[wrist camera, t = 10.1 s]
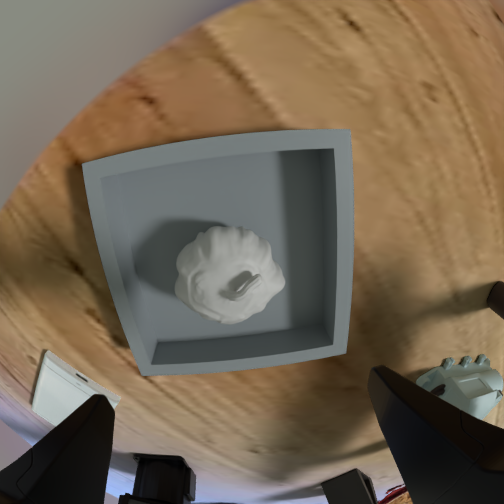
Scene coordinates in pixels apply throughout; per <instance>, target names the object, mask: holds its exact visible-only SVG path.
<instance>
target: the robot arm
mask: <svg viewBox="0 0 504 504" xmlns="http://www.w3.org/2000/svg"><path fill="white" fill-rule="evenodd" d="M367 386H368V392H369V395H370V398H371V401H372V404H373V407H374V410H375V413H376V417H377V420H378V423H379V426H380V428H381V430H382V433H383V435H384V437H385V439H386V442H387V444H388V446H389V448H390V451H391V453H392V455H393V457H394V460H395V462H396V464H397V467H398V469H399V471H400V474H401V476H402V478H403V481H404V483H405V486H406V488H407V490H408V493H409V495H410V498H411V500H412V503H413V504H504V429H502V428H500V427H497V426H494V425H492V424H489V423H487V422H485V421H482V420H480V419H478V418H476V417H474V416H472V415H470V414H468V413H467V412H465V411H463V410H460V409H459V408H457V407H456V406H454V405H452V404H450V403H448V402H447V401H445V400H443V399H441V398H439V397H438V396H436V395H434V394H432V393H431V392H429V391H427V390H425V389H424V388H422V387H420V386H419V385H417V384H415V383H413V382H412V381H410V380H408V379H406V378H405V377H403V376H401V375H400V374H398V373H396V372H395V371H393V370H391V369H389V368H388V367H386V366H384V365H379V366H376V367H373V368H372V369H371V371H370V375H369V380H368V385H367ZM114 420H115V411H114V409H113V407H112V405H111V404H110V402H109V400H108V399H107V397H106V396H105V395H103V394H93V395H92V396H91V397H90V398H89V399H87V400H86V401H85V402H84V403H83V404H82V405H80V406H79V407H78V408H77V409H76V410H75V411H73V412H72V413H71V414H70V415H69V416H68V417H67V418H65V419H64V420H63V421H62V422H61V423H60V424H58V425H57V426H56V427H55V428H54V429H53V430H51V431H50V432H49V433H48V434H47V435H46V436H44V437H43V438H42V439H41V440H40V441H39V442H37V443H36V444H35V445H34V446H33V447H32V448H30V449H29V450H28V451H27V452H26V453H25V454H23V455H22V456H21V457H20V458H18V459H17V460H16V461H15V462H13V463H12V464H10V465H9V466H7V467H6V468H4V469H3V470H1V471H0V504H104V498H105V490H106V483H107V477H108V471H109V465H110V459H111V453H112V445H113V431H114ZM133 459H134V460H135V461H136V462H137V463H138V466H137V471H136V477H135V482H134V488H133V493H132V495H130V494H129V493H125V495H120V497H119V503H118V504H191V501H195V490H196V475H195V474H194V472H193V470H192V469H191V468H190V467H189V466H188V464H187V463H186V461H185V459H184V458H182V457H164V456H149V455H137V454H134V455H133Z"/></svg>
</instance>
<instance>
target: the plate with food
mask: <svg viewBox="0 0 504 504" xmlns="http://www.w3.org/2000/svg"><path fill="white" fill-rule="evenodd" d="M403 485H404V484H403ZM401 486H402V485H401ZM401 486H399V487H401ZM404 487H405V488H404ZM404 487H402V488H403V489H402V488H399V489H397V490H394V489H395V488H397V487H395V488H394V489H392V490H389V491H387V494H388V492H390V491H392V492H391V493H390V494H388V495H387V496H385V498H384V499H383V500H382V501H380V502H379V501H378V504H413V503H412V500H411V498H410V495H409V493H408V490H407V488H406V486H404ZM400 489H401V490H400ZM393 490H394V491H393ZM397 491H398V492H397ZM395 492H396V493H395Z"/></svg>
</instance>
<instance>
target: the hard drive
mask: <svg viewBox="0 0 504 504" xmlns="http://www.w3.org/2000/svg"><path fill="white" fill-rule="evenodd" d="M93 394H103V395H105V396H106V397H107V399H108V400H109V402H110V404H111V405H112V407H113V409H114V408H115V407H116V406H117V404H118V403H119V401H120V398H121V397H120V396H118V395H116V394H114V393H113V392H111V391H109V390H107V389H106V388H104V387H102V386H101V385H99V384H98V383H96V382H94V381H93V380H91V379H89V378H88V377H86V376H85V375H83V374H82V373H80V372H79V371H77V370H76V369H74V368H73V367H71V366H70V365H68V364H67V363H66V362H64V361H63V360H61V359H60V358H59V357H57V356H56V355H55V354H53V353H52V352H51V351H49V350H48V351H47V352H46V353H45V355H44V358H43V362H42V366H41V370H40V373H39V377H38V381H37V385H36V389H35V394H34V398H33V403H32V410H33V411H34V412H35V413H36V414H38V415H39V416H41V417H42V418H43V419H45V420H47V421H48V422H49V423H51V424H52V425H54V426H57V425H58V424H60V423H61V422H62V421H63V420H64V419H65V418H67V417H68V416H69V415H70V414H71V413H72V412H73V411H75V410H76V409H77V408H78V407H79V406H80V405H82V404H83V403H84V402H85V401H86V400H87V399H89V398H90V397H91V396H92V395H93Z"/></svg>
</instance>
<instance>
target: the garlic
mask: <svg viewBox="0 0 504 504" xmlns="http://www.w3.org/2000/svg"><path fill="white" fill-rule="evenodd" d="M176 266H177V270H178V272H179V277H178V278H177V280H176V283H175V294H176V296H177V297H178V299H179V300H181V301H182V302H183V303H184V304H185V305H186V306H187V307H188V308H190V309H191V310H193V311H194V312H196V313H198V314H199V315H200V316H201V317H202V318H204V319H207V320H214V321H217V322H218V323H221V324H235V323H239V322H242V321H244V320H246V319H248V318H249V317H250V316H251V315H253V314H255V313H258V312H261V311H262V310H263V309H264V308H265V306H266V304H267V303H268V302H269V301H270V299H271V298H272V297H273V296H274V295H276V294H277V293H278V292H280V291H281V290H282V289H283V288H284V286H285V279H284V277H283V274H282V270H281V268H280V266H279V265H278V263H277V262H275V261H274V260H273V259H272V255H271V246H270V244H269V242H268V241H267V240H266V239H264V238H262V237H258V236H257V235H256V234H254V233H253V231H251V230H249V229H245V228H244V227H243V226H240V227H238V228H236V227H233V226H227V227H221V226H214V227H211V228H209V229H208V230H207V231H206V233H203V232H200V233H199V234H198V235H197V237H196V240H194V241H193V242H191V243H189V244H187V245H186V246H185V247H184V248H183V250H182V251H181V252H180V253H179V255H178V257H177V262H176Z"/></svg>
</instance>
